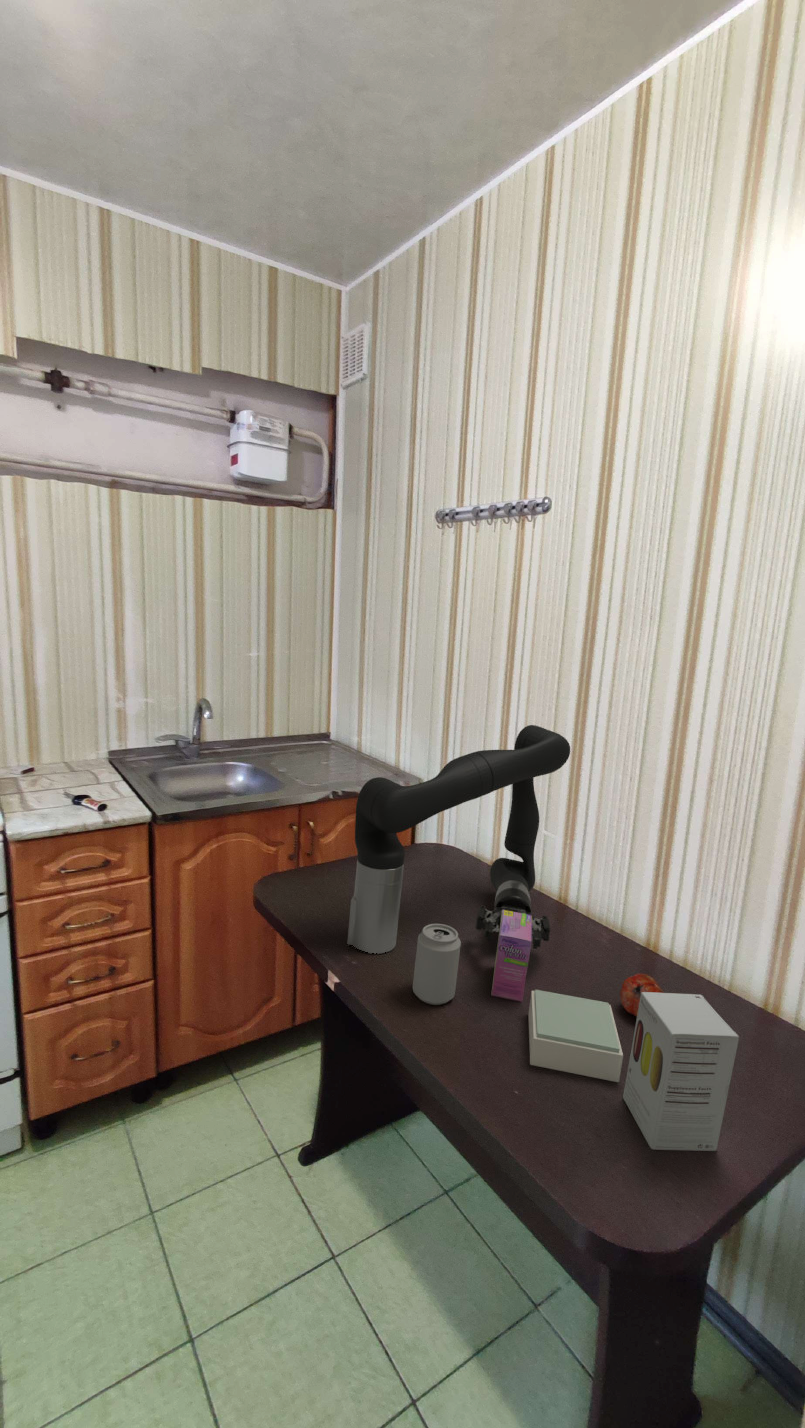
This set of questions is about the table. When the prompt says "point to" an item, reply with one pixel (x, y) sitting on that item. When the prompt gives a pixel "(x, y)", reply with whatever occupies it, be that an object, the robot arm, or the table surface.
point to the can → (436, 964)
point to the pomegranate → (637, 991)
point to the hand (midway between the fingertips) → (512, 940)
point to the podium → (574, 1035)
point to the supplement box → (679, 1071)
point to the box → (512, 955)
